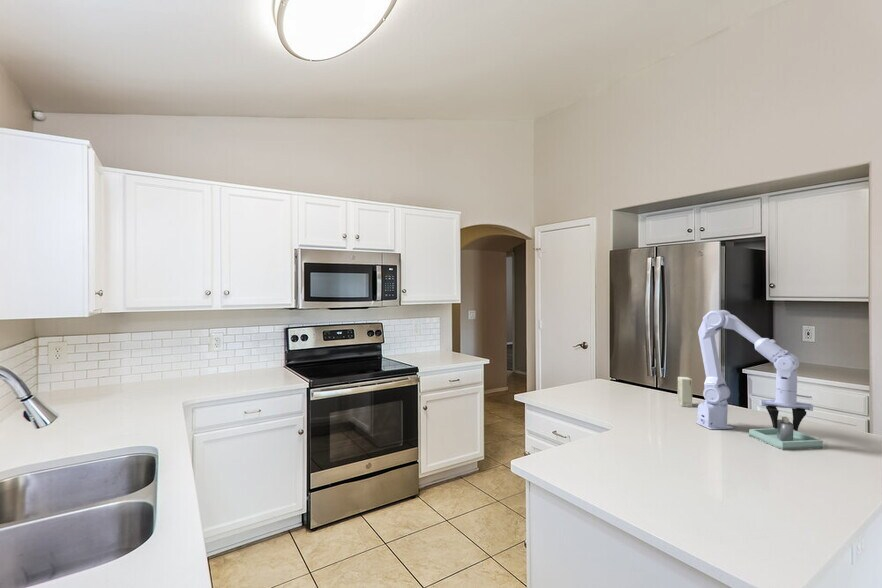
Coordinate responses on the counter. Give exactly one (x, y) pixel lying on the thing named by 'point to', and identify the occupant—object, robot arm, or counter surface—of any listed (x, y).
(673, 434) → the counter surface
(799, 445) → the sage tray
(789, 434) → the grey rounded piece
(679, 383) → the skincare box
